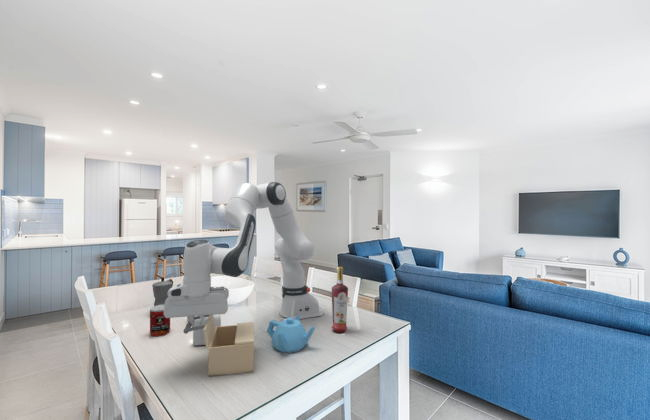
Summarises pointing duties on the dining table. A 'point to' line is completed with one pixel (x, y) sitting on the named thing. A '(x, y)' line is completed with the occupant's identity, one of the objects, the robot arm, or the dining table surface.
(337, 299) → the liquor
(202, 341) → the photo printer
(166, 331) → the canned food
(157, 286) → the coffeepot
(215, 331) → the carton
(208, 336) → the far flap
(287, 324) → the teapot
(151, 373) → the dining table surface
